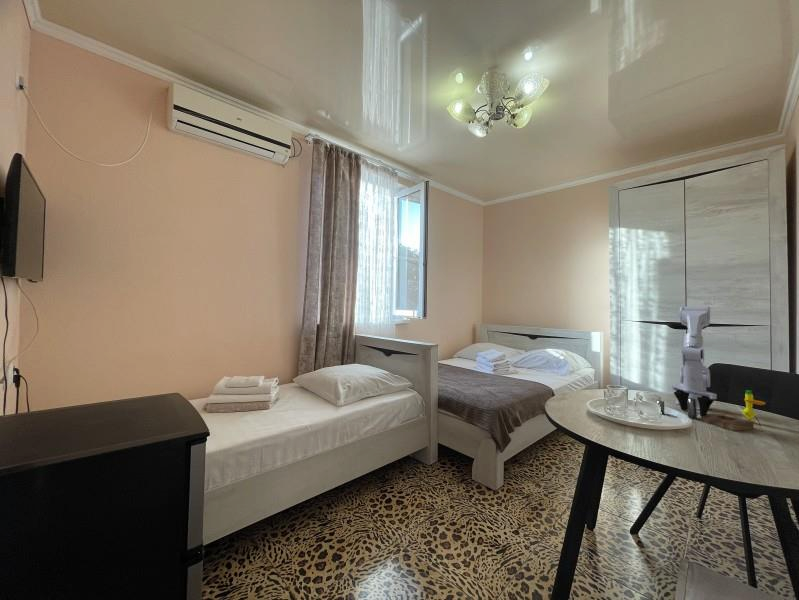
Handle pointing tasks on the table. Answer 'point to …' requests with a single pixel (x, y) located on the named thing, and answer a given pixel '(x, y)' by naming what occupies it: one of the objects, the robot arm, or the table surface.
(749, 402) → the toy figure
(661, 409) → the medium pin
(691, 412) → the long pin
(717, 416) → the hole block
